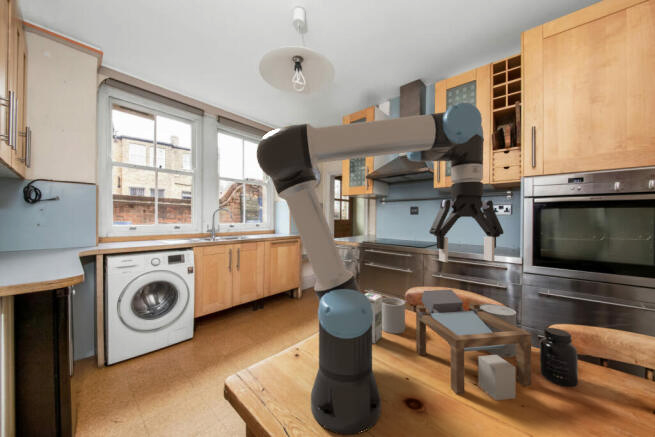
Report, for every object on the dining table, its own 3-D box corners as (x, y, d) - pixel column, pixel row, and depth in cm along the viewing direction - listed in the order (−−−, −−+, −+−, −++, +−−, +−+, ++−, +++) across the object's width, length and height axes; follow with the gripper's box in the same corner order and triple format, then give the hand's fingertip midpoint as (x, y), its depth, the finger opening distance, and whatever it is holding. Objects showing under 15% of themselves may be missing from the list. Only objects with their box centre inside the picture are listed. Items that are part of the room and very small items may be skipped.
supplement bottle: (541, 367, 65) (540, 323, 65) (577, 379, 60) (577, 331, 60) (539, 379, 60) (538, 331, 60) (578, 393, 55) (577, 341, 55)
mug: (398, 336, 82) (398, 307, 82) (374, 327, 88) (374, 301, 89) (411, 325, 90) (411, 299, 90) (388, 318, 96) (388, 294, 97)
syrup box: (367, 332, 85) (366, 292, 85) (382, 337, 81) (382, 295, 81) (359, 339, 80) (359, 296, 80) (375, 344, 77) (375, 299, 77)
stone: (495, 369, 53) (495, 400, 53) (515, 367, 54) (515, 398, 54) (478, 356, 58) (478, 385, 58) (496, 354, 59) (496, 383, 59)
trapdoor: (452, 356, 60) (456, 345, 59) (414, 300, 79) (417, 291, 77) (502, 352, 62) (507, 341, 61) (454, 298, 81) (457, 289, 79)
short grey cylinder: (517, 361, 68) (516, 317, 68) (477, 350, 73) (477, 310, 73) (516, 346, 75) (515, 307, 75) (480, 337, 81) (480, 301, 81)
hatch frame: (456, 394, 55) (456, 333, 55) (416, 351, 72) (416, 305, 73) (531, 385, 57) (531, 327, 58) (475, 346, 75) (474, 302, 75)
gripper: (431, 178, 59) (431, 264, 59) (520, 181, 62) (520, 262, 62) (416, 183, 66) (416, 259, 66) (496, 185, 70) (496, 257, 70)
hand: (466, 260), depth 64 cm, fingers open, 13 cm apart
